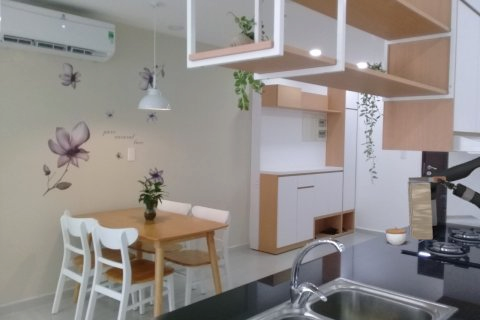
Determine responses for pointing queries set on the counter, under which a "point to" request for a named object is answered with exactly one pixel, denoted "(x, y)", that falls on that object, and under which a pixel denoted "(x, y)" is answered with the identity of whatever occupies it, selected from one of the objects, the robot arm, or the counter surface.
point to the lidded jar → (396, 236)
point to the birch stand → (420, 208)
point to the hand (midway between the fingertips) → (436, 179)
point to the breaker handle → (436, 179)
